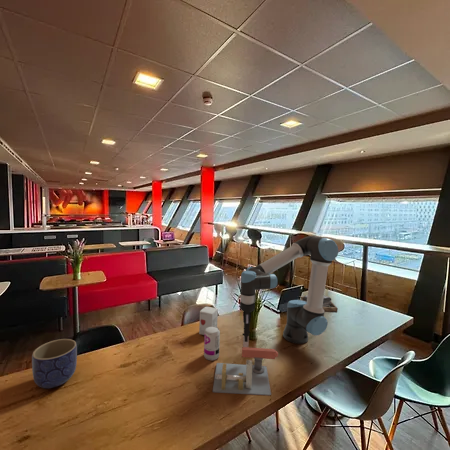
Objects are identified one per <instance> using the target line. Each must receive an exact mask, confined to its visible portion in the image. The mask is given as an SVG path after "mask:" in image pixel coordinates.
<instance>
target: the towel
mask: <svg viewBox="0 0 450 450" xmlns="http://www.w3.org/2000/svg"><path fill="white" fill-rule="evenodd" d="M307 296H308V294H306V295H304V296H303V297H304V299H305V300H304V301H305V302H307ZM331 302H332V298H331V297H330V296H327V295H325V294H324V299H323V305H322V307H330V305H331Z"/></svg>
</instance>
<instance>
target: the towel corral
mask: <svg viewBox="0 0 450 450" xmlns="http://www.w3.org/2000/svg"><path fill="white" fill-rule="evenodd" d="M300 297H301V300H302V301H305V299H304V296H300ZM322 308H323V309H324V312H333V311H336V312H338V307H337V306H336V305H335V304H334V303H333V301H331V305H329V306H327V307H322ZM336 312H335V313H336Z"/></svg>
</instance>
